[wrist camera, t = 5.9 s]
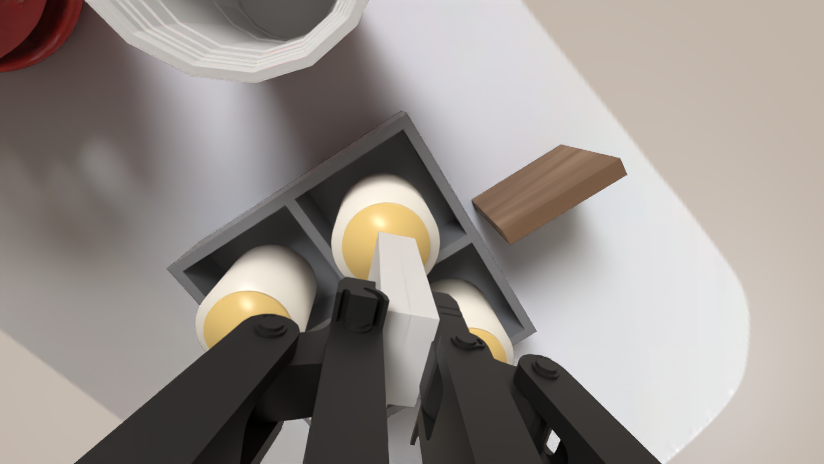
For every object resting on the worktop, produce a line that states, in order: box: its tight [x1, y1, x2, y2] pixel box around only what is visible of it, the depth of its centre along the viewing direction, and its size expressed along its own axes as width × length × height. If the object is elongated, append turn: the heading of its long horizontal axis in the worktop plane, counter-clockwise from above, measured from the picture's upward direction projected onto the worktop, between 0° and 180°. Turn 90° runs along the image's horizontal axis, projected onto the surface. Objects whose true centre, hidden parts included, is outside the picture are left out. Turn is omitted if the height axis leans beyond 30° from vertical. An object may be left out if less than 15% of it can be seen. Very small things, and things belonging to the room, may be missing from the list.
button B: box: [331, 173, 440, 280], centre depth 21 cm, size 5×5×5 cm
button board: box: [167, 111, 537, 426], centre depth 27 cm, size 16×16×4 cm
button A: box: [195, 245, 317, 352], centre depth 22 cm, size 5×5×5 cm
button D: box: [429, 278, 514, 365], centre depth 24 cm, size 5×5×5 cm
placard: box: [472, 145, 627, 245], centre depth 25 cm, size 1×7×7 cm, turn 122°
